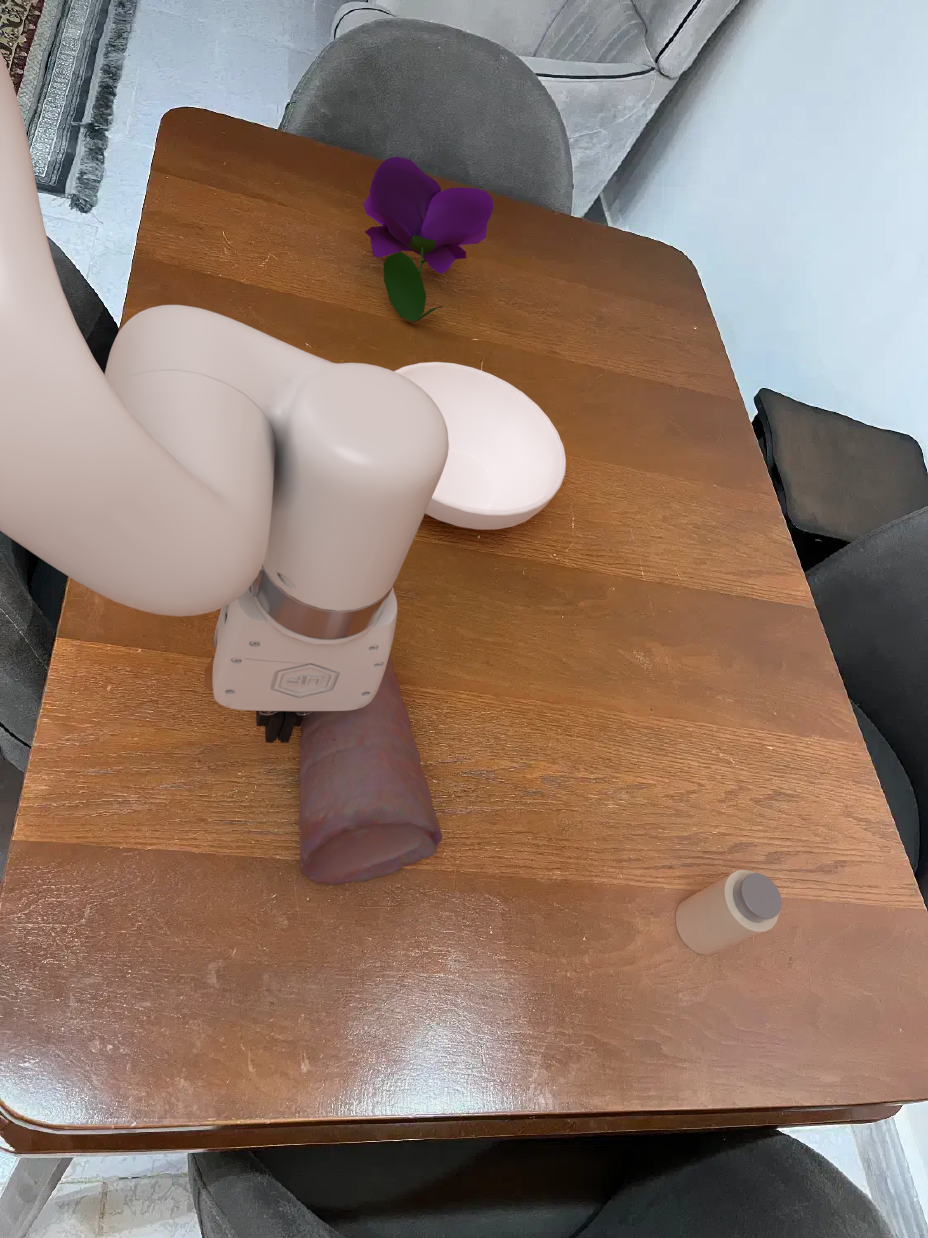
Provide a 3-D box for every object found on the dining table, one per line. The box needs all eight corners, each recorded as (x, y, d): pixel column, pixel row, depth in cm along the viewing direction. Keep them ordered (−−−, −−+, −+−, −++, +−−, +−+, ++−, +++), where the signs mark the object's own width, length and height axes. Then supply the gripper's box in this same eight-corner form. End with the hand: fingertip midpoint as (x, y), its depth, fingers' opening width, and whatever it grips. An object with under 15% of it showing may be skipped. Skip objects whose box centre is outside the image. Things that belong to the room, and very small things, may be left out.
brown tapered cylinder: (422, 872, 61) (460, 830, 54) (292, 893, 57) (315, 850, 50) (369, 625, 71) (395, 563, 64) (256, 629, 68) (271, 564, 61)
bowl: (308, 469, 79) (322, 414, 73) (429, 389, 91) (448, 335, 85) (468, 598, 76) (495, 550, 71) (571, 497, 88) (600, 450, 83)
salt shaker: (684, 958, 64) (746, 930, 57) (668, 899, 66) (726, 866, 59) (732, 952, 65) (798, 924, 59) (714, 895, 67) (776, 862, 61)
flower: (457, 359, 104) (466, 257, 105) (499, 304, 90) (509, 188, 91) (340, 333, 99) (351, 227, 101) (365, 272, 85) (377, 149, 87)
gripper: (178, 625, 41) (163, 775, 55) (462, 636, 47) (382, 771, 61) (181, 508, 45) (166, 676, 59) (442, 530, 50) (372, 680, 65)
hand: (275, 724), depth 60 cm, fingers closed
